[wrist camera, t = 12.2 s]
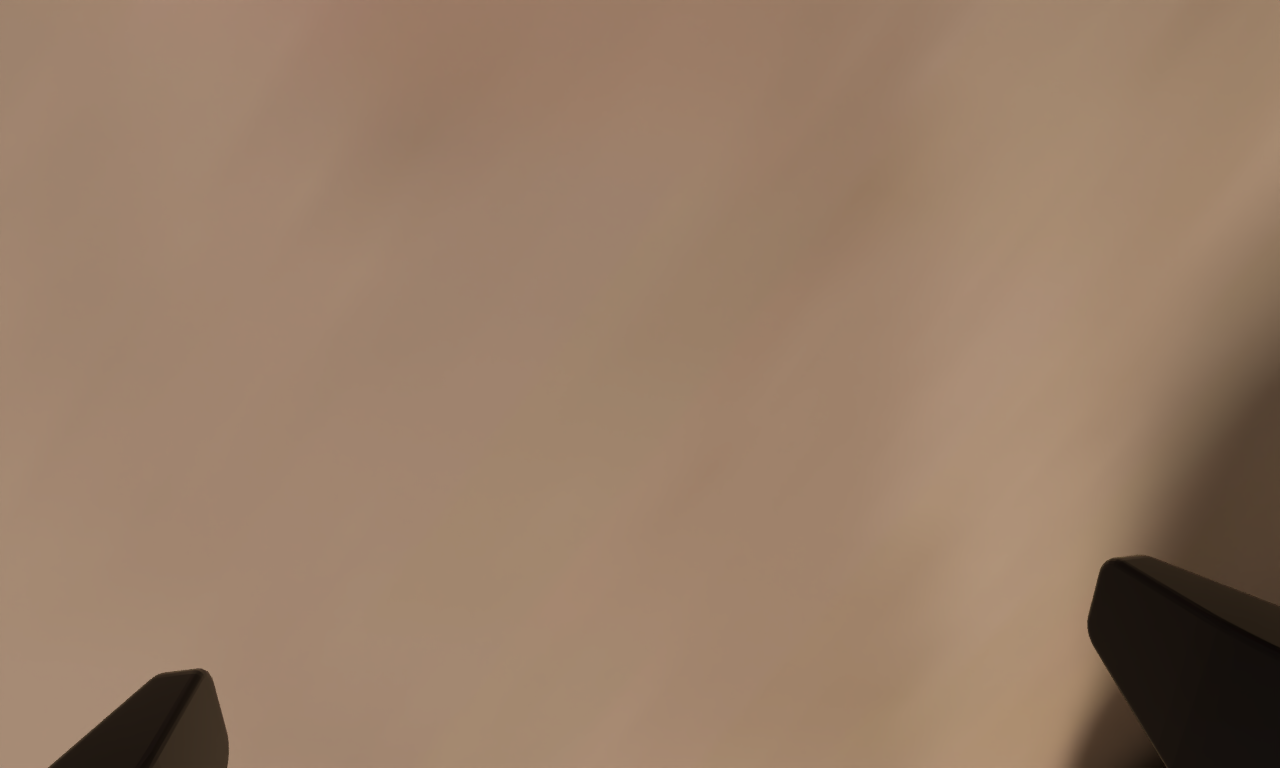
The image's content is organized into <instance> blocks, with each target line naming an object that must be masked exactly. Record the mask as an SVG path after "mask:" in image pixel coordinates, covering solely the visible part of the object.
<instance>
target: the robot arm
mask: <svg viewBox="0 0 1280 768" xmlns="http://www.w3.org/2000/svg"><path fill="white" fill-rule="evenodd" d="M1087 626H1088V633H1089V637H1090V639H1091V642H1092V644H1093V646H1094V648H1095V649H1096V651H1097V653H1098V654H1099V656H1100V658H1101V660H1102V661H1103V663H1104V665H1105V666H1106V668H1107V670H1108V671H1109V673H1110V675H1111V676H1112V678H1113V680H1114V681H1115V683H1116V685H1117V686H1118V688H1119V690H1120V691H1121V693H1122V695H1123V696H1124V698H1125V700H1126V701H1127V703H1128V705H1129V706H1130V708H1131V710H1132V711H1133V713H1134V715H1135V716H1136V718H1137V720H1138V721H1139V723H1140V725H1141V726H1142V728H1143V730H1144V731H1145V733H1146V735H1147V737H1148V738H1149V740H1150V742H1151V743H1152V745H1153V747H1154V748H1155V750H1156V752H1157V753H1158V755H1159V756H1160V758H1161V759H1162V761H1163V763H1164V764H1165V766H1166V767H1167V768H1280V606H1277V605H1275V604H1272V603H1270V602H1267V601H1264V600H1262V599H1259V598H1257V597H1254V596H1251V595H1249V594H1246V593H1244V592H1241V591H1238V590H1236V589H1233V588H1231V587H1228V586H1225V585H1223V584H1220V583H1218V582H1215V581H1213V580H1210V579H1207V578H1205V577H1202V576H1200V575H1197V574H1194V573H1192V572H1189V571H1187V570H1184V569H1181V568H1179V567H1176V566H1174V565H1171V564H1168V563H1166V562H1163V561H1161V560H1158V559H1156V558H1153V557H1150V556H1146V555H1134V556H1126V557H1117V558H1112V559H1109V560H1107V561H1106V562H1105V563H1104V564H1103V566H1102V567H1101V569H1100V572H1099V575H1098V579H1097V583H1096V587H1095V591H1094V595H1093V599H1092V603H1091V607H1090V611H1089V615H1088V620H1087ZM228 757H229V742H228V735H227V731H226V727H225V723H224V719H223V716H222V712H221V708H220V704H219V701H218V697H217V693H216V689H215V686H214V682H213V679H212V677H211V676H210V674H209V673H208V671H206V670H203V669H199V668H198V669H190V670H181V671H173V672H165V673H161V674H158V675H156V676H155V677H153V678H152V679H150V680H149V681H148V682H147V683H146V684H145V685H143V686H142V687H141V688H140V689H139V690H138V691H136V692H135V693H134V694H133V695H132V696H131V697H129V698H128V699H127V700H126V701H125V702H124V703H123V704H121V705H120V706H119V707H118V708H117V709H116V710H114V711H113V712H112V713H111V714H110V715H109V716H107V717H106V718H105V719H104V720H103V721H102V722H100V723H99V724H98V725H97V726H96V727H95V728H94V729H92V730H91V731H90V732H89V733H88V734H87V735H85V736H84V737H83V738H82V739H81V740H80V741H78V742H77V743H76V744H75V745H74V746H73V747H72V748H70V749H69V750H68V751H67V752H66V753H65V754H63V755H62V756H61V757H60V758H59V759H58V760H56V761H55V762H54V763H53V764H52V765H51V766H49V767H48V768H227V765H228Z"/></svg>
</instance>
